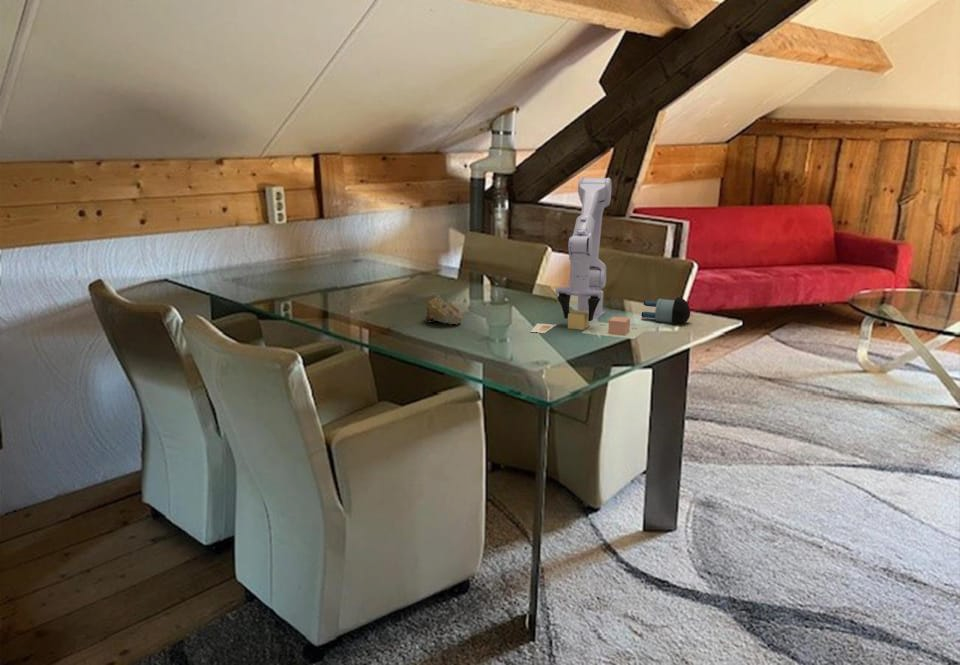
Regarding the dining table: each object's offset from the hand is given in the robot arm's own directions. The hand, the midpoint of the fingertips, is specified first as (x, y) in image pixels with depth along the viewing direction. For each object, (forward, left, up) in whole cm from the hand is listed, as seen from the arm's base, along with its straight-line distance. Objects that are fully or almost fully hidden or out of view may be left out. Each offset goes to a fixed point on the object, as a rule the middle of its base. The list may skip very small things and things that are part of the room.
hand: (578, 319), depth 224 cm
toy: (-17, +22, -3) cm, 28 cm away
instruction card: (+5, -9, -3) cm, 11 cm away
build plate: (-1, +11, -3) cm, 11 cm away
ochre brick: (0, 0, -3) cm, 3 cm away
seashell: (+11, -41, -3) cm, 43 cm away
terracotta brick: (+1, +13, -3) cm, 13 cm away
